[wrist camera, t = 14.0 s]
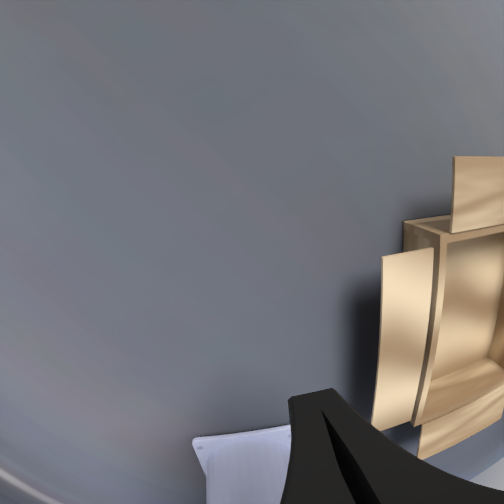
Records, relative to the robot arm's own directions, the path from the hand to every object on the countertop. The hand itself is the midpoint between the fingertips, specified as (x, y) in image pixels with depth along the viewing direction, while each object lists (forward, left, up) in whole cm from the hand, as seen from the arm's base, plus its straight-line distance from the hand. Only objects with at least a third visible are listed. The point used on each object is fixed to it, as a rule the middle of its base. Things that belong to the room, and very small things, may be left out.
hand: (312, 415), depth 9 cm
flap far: (-11, -14, -6) cm, 19 cm away
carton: (-4, -14, -10) cm, 18 cm away
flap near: (+3, -14, -6) cm, 16 cm away
